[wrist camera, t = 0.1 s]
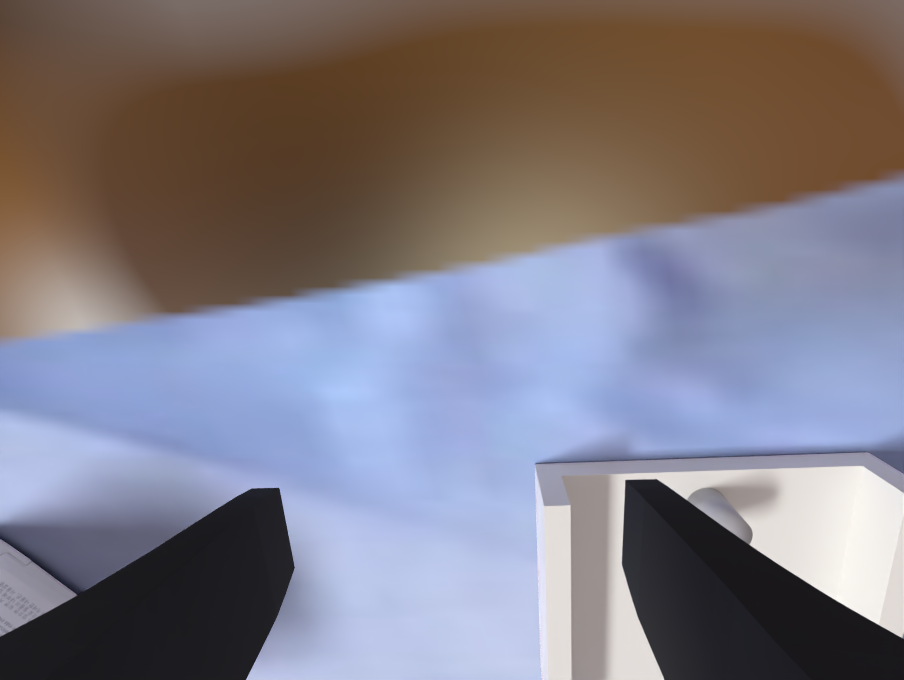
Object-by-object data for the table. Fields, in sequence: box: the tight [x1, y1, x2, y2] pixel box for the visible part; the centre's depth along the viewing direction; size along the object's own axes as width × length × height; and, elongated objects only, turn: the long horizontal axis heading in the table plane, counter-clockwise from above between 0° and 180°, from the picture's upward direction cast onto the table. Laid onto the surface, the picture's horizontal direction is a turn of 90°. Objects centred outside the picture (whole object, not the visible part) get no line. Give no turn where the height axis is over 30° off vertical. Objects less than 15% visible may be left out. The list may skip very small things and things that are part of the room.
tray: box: [535, 452, 904, 680], centre depth 20 cm, size 12×14×3 cm
